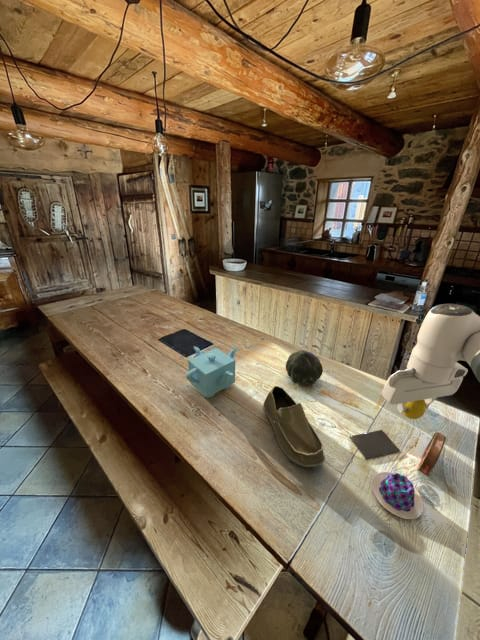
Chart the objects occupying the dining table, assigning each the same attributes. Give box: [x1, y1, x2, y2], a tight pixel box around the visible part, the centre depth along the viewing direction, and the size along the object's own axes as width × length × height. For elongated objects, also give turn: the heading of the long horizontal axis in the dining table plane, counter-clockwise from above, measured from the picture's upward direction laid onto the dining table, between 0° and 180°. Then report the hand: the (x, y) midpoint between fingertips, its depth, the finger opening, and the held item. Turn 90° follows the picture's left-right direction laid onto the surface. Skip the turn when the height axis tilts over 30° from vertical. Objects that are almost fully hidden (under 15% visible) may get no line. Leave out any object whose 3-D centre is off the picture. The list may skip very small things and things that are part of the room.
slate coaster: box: [349, 429, 401, 460], centre depth 84 cm, size 12×8×1 cm, turn 103°
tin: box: [416, 430, 447, 477], centre depth 77 cm, size 15×3×8 cm, turn 134°
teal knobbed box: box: [185, 345, 239, 398], centre depth 105 cm, size 19×19×15 cm
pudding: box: [371, 471, 424, 520], centre depth 69 cm, size 12×12×5 cm
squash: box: [285, 349, 324, 386], centre depth 110 cm, size 14×15×15 cm
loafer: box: [263, 385, 326, 468], centre depth 85 cm, size 11×30×10 cm, turn 23°
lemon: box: [402, 400, 427, 420], centre depth 71 cm, size 6×6×8 cm
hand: (412, 409), depth 72 cm, fingers closed on lemon, 5 cm apart
